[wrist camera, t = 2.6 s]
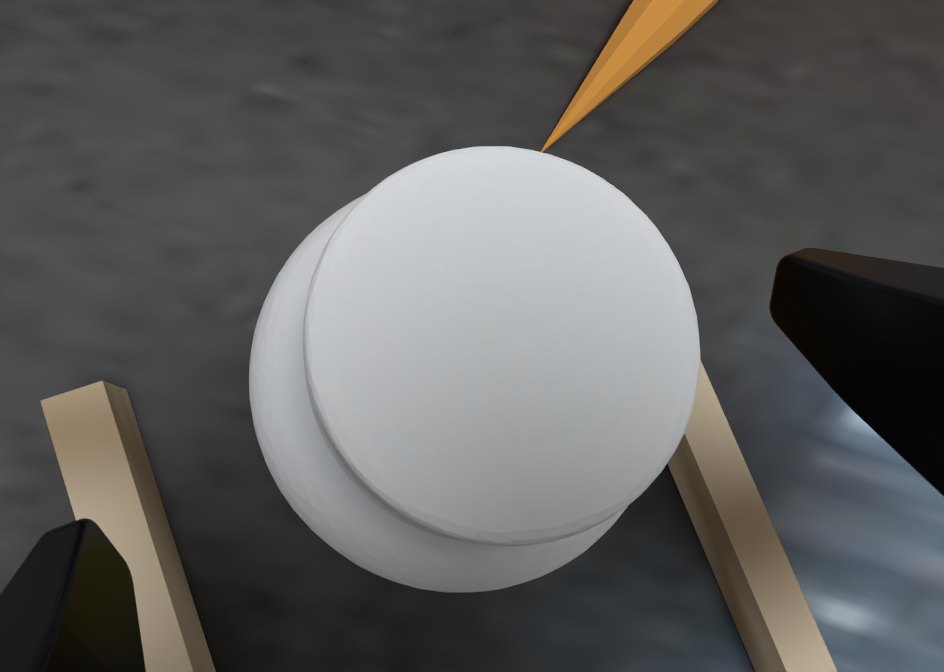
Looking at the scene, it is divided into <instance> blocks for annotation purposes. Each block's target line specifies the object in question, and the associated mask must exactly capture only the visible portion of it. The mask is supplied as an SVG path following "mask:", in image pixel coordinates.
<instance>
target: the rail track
mask: <svg viewBox="0 0 944 672" xmlns="http://www.w3.org/2000/svg"><path fill="white" fill-rule="evenodd" d="M41 405H42V408H43V411H44V415H45V418H46V421H47V425H48V428H49V432H50V435H51V438H52V442H53V445H54V448H55V452H56V455H57V458H58V462H59V465H60V468H61V472H62V475H63V479H64V482H65V485H66V489H67V492H68V495H69V499H70V502H71V505H72V509H73V512H74V515H75V519H76V520H79V519H82V518H87V519H91V520H92V521H94V522H95V523H96V524H97V525H98V526H99V527H100V529H101V530H102V531H103V532H104V534H105V535H106V536H107V538H108V539H109V540H110V542H111V543H112V544H113V545H114V547H115V548H116V549H117V551H118V552H119V553H120V555H121V556H122V557H123V558H124V560H125V561H126V563H127V565H128V567H129V569H130V572H131V575H132V579H133V584H134V591H135V598H136V605H137V612H138V619H139V627H140V634H141V641H142V648H143V655H144V662H145V669H146V672H216V671H215V668H214V665H213V661H212V658H211V655H210V652H209V649H208V646H207V642H206V639H205V636H204V633H203V630H202V627H201V624H200V620H199V617H198V614H197V611H196V608H195V605H194V601H193V598H192V595H191V592H190V589H189V586H188V582H187V579H186V576H185V573H184V570H183V567H182V563H181V560H180V557H179V554H178V551H177V548H176V545H175V541H174V538H173V535H172V532H171V529H170V526H169V522H168V519H167V516H166V513H165V510H164V507H163V503H162V500H161V497H160V494H159V491H158V488H157V485H156V481H155V478H154V475H153V472H152V469H151V466H150V462H149V459H148V456H147V453H146V450H145V447H144V443H143V440H142V437H141V434H140V431H139V428H138V424H137V421H136V418H135V415H134V412H133V409H132V406H131V402H130V399H129V396H128V393H127V390H126V389H124V388H121V387H118V386H116V385H113V384H110V383H108V382H105V381H100V382H97V383H94V384H90V385H87V386H84V387H81V388H78V389H75V390H72V391H69V392H66V393H63V394H60V395H57V396H54V397H50V398H47V399H44V400H41ZM667 464H668V466H669V469H670V471H671V473H672V476H673V478H674V480H675V483H676V485H677V488H678V490H679V492H680V495H681V497H682V499H683V502H684V504H685V506H686V509H687V511H688V514H689V516H690V518H691V521H692V523H693V525H694V528H695V530H696V532H697V535H698V537H699V540H700V542H701V544H702V547H703V549H704V551H705V554H706V556H707V559H708V561H709V563H710V566H711V568H712V570H713V573H714V575H715V577H716V580H717V582H718V585H719V587H720V589H721V592H722V594H723V596H724V599H725V601H726V603H727V606H728V608H729V611H730V613H731V615H732V618H733V620H734V622H735V625H736V627H737V630H738V632H739V634H740V637H741V639H742V641H743V644H744V646H745V648H746V651H747V653H748V656H749V658H750V660H751V663H752V665H753V667H754V670H755V672H837V670H836V668H835V665H834V663H833V661H832V659H831V656H830V654H829V652H828V649H827V647H826V645H825V643H824V640H823V638H822V636H821V633H820V631H819V629H818V627H817V624H816V622H815V620H814V618H813V615H812V613H811V611H810V608H809V606H808V604H807V602H806V599H805V597H804V595H803V592H802V590H801V588H800V586H799V583H798V581H797V579H796V576H795V574H794V572H793V570H792V567H791V565H790V563H789V561H788V558H787V556H786V554H785V551H784V549H783V547H782V545H781V542H780V540H779V538H778V535H777V533H776V531H775V529H774V526H773V524H772V522H771V519H770V517H769V515H768V513H767V510H766V508H765V506H764V504H763V501H762V499H761V497H760V494H759V492H758V490H757V488H756V485H755V483H754V481H753V478H752V476H751V474H750V472H749V469H748V467H747V465H746V462H745V460H744V458H743V456H742V453H741V451H740V449H739V447H738V444H737V442H736V440H735V437H734V435H733V433H732V431H731V428H730V426H729V424H728V421H727V419H726V417H725V415H724V412H723V410H722V408H721V405H720V403H719V401H718V399H717V396H716V394H715V392H714V390H713V387H712V385H711V383H710V380H709V378H708V376H707V374H706V371H705V369H704V367H703V364H702V362H701V360H700V370H699V382H698V387H697V392H696V398H695V402H694V406H693V410H692V413H691V416H690V419H689V422H688V425H687V428H686V431H685V433H684V435H683V437H682V439H681V441H680V443H679V445H678V447H677V449H676V450H675V452H674V454H673V455H672V457H671V458H670V460H669V461H668V463H667Z"/></svg>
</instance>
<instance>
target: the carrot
mask: <svg viewBox="0 0 944 672" xmlns="http://www.w3.org/2000/svg"><path fill="white" fill-rule="evenodd" d="M718 1H719V0H633V2H632V4H631V5H630V7H629V9H628V10H627V12H626V13H625V15H624V17H623V18H622V20H621V22H620V23H619V25H618V26H617V28H616V30H615V31H614V33H613V35H612V36H611V38H610V39H609V41H608V43H607V44H606V46H605V48H604V49H603V51H602V53H601V54H600V56H599V57H598V59H597V61H596V62H595V64H594V66H593V67H592V69H591V70H590V72H589V74H588V75H587V77H586V79H585V80H584V82H583V83H582V85H581V87H580V88H579V90H578V92H577V93H576V95H575V96H574V98H573V100H572V101H571V103H570V105H569V106H568V108H567V110H566V111H565V113H564V114H563V116H562V118H561V119H560V121H559V123H558V124H557V126H556V127H555V129H554V131H553V132H552V134H551V136H550V137H549V139H548V140H547V142H546V144H545V145H544V147H543V149H542V150H541V152H543V151H544V150H545V149H547V148H548V147H549V146H550V145H551V144H553V143H554V142H555V141H556V140H557V139H559V138H560V137H561V136H562V135H563V134H565V133H566V132H567V131H568V130H570V129H571V128H572V127H573V126H574V125H576V124H577V123H578V122H579V121H580V120H582V119H583V118H584V117H585V116H586V115H588V114H589V113H590V112H591V111H592V110H594V109H595V108H596V107H597V106H598V105H600V104H601V103H602V102H603V101H604V100H606V99H607V98H608V97H609V96H611V95H612V94H613V93H614V92H615V91H617V90H618V89H619V88H620V87H621V86H623V85H624V84H625V83H626V82H627V81H629V80H630V79H631V78H632V77H633V76H635V75H636V74H637V73H638V72H639V71H641V70H642V69H643V68H644V67H645V66H647V65H648V64H649V63H650V62H652V61H653V60H654V59H655V58H656V57H658V56H659V55H660V54H661V53H662V52H664V51H665V50H666V49H667V48H668V47H670V46H671V45H672V44H673V43H674V42H675V41H676V40H677V39H678V38H680V37H681V36H682V35H683V34H684V33H685V32H686V31H687V30H688V29H689V28H690V27H691V26H692V25H693V24H695V23H696V22H697V21H698V20H699V19H700V18H701V17H702V16H703V15H704V14H705V13H706V12H707V11H708V10H710V9H711V8H712V7H713V6H714V5H715V4H716V3H717V2H718Z"/></svg>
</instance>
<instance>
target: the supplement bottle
mask: <svg viewBox="0 0 944 672" xmlns="http://www.w3.org/2000/svg"><path fill="white" fill-rule="evenodd" d="M699 370H700V343H699V332H698V323H697V315H696V312H695V308H694V304H693V300H692V296H691V292H690V288H689V286H688V284H687V281H686V279H685V277H684V274H683V272H682V270H681V268H680V265H679V263H678V261H677V259H676V258H675V256H674V254H673V252H672V251H671V249H670V247H669V245H668V244H667V242H666V241H665V239H664V238H663V236H662V235H661V234H660V232H659V231H658V229H657V228H656V226H655V225H654V224H653V223H652V222H651V221H650V219H649V218H648V217H647V216H646V215H645V214H644V213H643V212H642V211H641V210H640V209H639V208H638V207H637V206H636V205H635V204H634V203H633V202H632V201H631V200H630V199H629V198H628V197H627V196H626V195H625V194H623V193H622V192H621V191H619V190H618V189H617V188H615V187H614V186H612V185H611V184H610V183H608V182H607V181H605V180H604V179H602V178H601V177H599V176H597V175H596V174H594V173H592V172H590V171H588V170H587V169H585V168H583V167H581V166H579V165H576V164H574V163H572V162H570V161H567V160H564V159H561V158H558V157H556V156H553V155H550V154H546V153H542V152H537V151H533V150H527V149H521V148H515V147H509V146H491V147H471V148H464V149H458V150H452V151H448V152H444V153H440V154H437V155H434V156H431V157H428V158H425V159H423V160H420V161H418V162H416V163H413V164H411V165H409V166H407V167H405V168H403V169H401V170H399V171H397V172H396V173H394V174H392V175H391V176H389V177H387V178H386V179H385V180H383V181H382V182H381V183H379V184H378V185H377V186H375V187H374V188H373V189H372V190H370V191H369V192H368V193H367V194H365V195H363V196H361V197H359V198H357V199H356V200H354V201H352V202H351V203H349V204H347V205H346V206H344V207H343V208H341V209H340V210H338V211H337V212H335V213H334V214H333V215H332V216H330V217H329V218H328V219H326V220H325V221H324V222H323V223H321V224H320V225H319V226H318V227H316V228H315V229H314V230H313V231H312V232H311V233H310V234H309V235H308V236H307V237H306V238H305V239H304V240H303V242H302V243H301V244H300V245H299V246H298V247H297V248H296V250H295V251H294V252H293V253H292V255H291V256H290V257H289V259H288V260H287V262H286V263H285V265H284V266H283V268H282V269H281V271H280V272H279V274H278V275H277V277H276V279H275V281H274V283H273V285H272V287H271V289H270V291H269V293H268V295H267V297H266V299H265V301H264V304H263V307H262V310H261V313H260V315H259V318H258V321H257V325H256V328H255V332H254V336H253V342H252V349H251V356H250V364H249V396H250V404H251V410H252V417H253V423H254V428H255V432H256V436H257V439H258V442H259V445H260V448H261V450H262V453H263V456H264V459H265V462H266V464H267V466H268V469H269V471H270V473H271V475H272V477H273V478H274V480H275V482H276V484H277V486H278V488H279V490H280V491H281V493H282V494H283V496H284V497H285V498H286V500H287V501H288V503H289V504H290V506H291V507H292V509H293V510H294V511H295V512H296V513H297V514H298V515H299V517H300V518H301V519H302V520H303V521H304V522H305V523H306V524H307V525H308V527H309V528H310V529H311V530H312V531H313V532H314V533H315V534H317V535H318V536H319V537H320V538H321V539H322V540H323V541H325V542H326V543H327V544H328V545H329V546H331V547H332V548H333V549H335V550H336V551H337V552H339V553H340V554H342V555H343V556H344V557H346V558H347V559H349V560H350V561H352V562H353V563H355V564H357V565H358V566H360V567H362V568H364V569H366V570H368V571H370V572H372V573H374V574H376V575H379V576H381V577H383V578H386V579H389V580H391V581H394V582H397V583H400V584H403V585H407V586H411V587H414V588H418V589H425V590H432V591H439V592H482V591H491V590H497V589H503V588H507V587H510V586H514V585H517V584H521V583H524V582H527V581H530V580H533V579H536V578H539V577H541V576H543V575H545V574H548V573H550V572H552V571H554V570H556V569H558V568H560V567H561V566H563V565H565V564H567V563H568V562H570V561H571V560H573V559H574V558H576V557H577V556H579V555H580V554H582V553H583V552H585V551H586V550H587V549H588V548H589V547H590V546H592V545H593V544H594V543H595V542H596V541H597V540H598V539H599V538H600V537H601V536H602V535H603V534H605V533H606V532H607V531H608V530H609V529H610V527H611V526H612V525H613V524H614V523H615V522H616V521H617V519H618V518H619V517H620V516H621V514H622V513H623V512H624V511H625V509H626V508H627V507H628V505H629V504H631V503H632V502H633V501H634V500H635V499H637V498H638V497H639V496H640V495H641V494H642V493H643V492H644V491H645V490H646V489H647V488H648V487H649V485H650V484H651V483H652V482H653V481H654V480H655V479H656V477H657V476H658V475H659V474H660V473H661V472H662V470H663V469H664V467H665V466H666V464H667V463H668V461H669V460H670V458H671V457H672V455H673V454H674V452H675V450H676V449H677V447H678V445H679V443H680V441H681V439H682V437H683V435H684V433H685V431H686V428H687V425H688V422H689V419H690V416H691V413H692V410H693V406H694V402H695V398H696V392H697V387H698V382H699Z"/></svg>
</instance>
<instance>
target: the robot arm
mask: <svg viewBox="0 0 944 672" xmlns="http://www.w3.org/2000/svg"><path fill="white" fill-rule="evenodd" d="M769 308H770V314H771V317H772V319H773V320H774V322H775V323H776V325H777V326H778V327H779V328H780V329H781V330H782V332H783V333H784V334H785V335H786V336H787V337H788V338H789V340H790V341H791V342H792V343H793V344H794V345H795V346H796V348H797V349H798V350H799V351H800V352H801V353H802V355H803V356H804V357H805V358H806V359H807V360H808V361H809V363H810V364H811V365H812V366H813V367H814V368H815V369H816V371H817V372H818V373H819V374H820V375H821V376H822V377H823V379H824V380H825V381H826V382H827V383H828V384H829V385H830V387H831V388H832V389H833V390H834V391H835V392H836V393H837V394H838V395H839V397H840V398H841V399H842V400H843V401H844V402H845V403H846V404H847V405H848V406H849V407H850V408H851V409H852V410H853V411H854V412H855V413H856V414H857V415H858V416H859V417H860V418H861V419H863V420H864V421H865V422H866V423H867V424H868V425H869V426H870V427H871V428H872V429H873V430H874V431H875V432H876V433H877V434H878V435H879V436H880V437H881V438H883V439H884V440H885V441H886V442H887V443H888V444H889V445H890V446H891V447H892V448H893V449H894V450H895V451H896V452H897V453H898V454H899V455H900V456H902V457H903V458H904V459H905V460H906V461H907V462H908V463H909V464H910V465H911V466H912V467H913V468H914V469H915V470H916V471H917V472H918V473H919V474H920V475H922V476H923V477H924V478H925V479H926V480H927V481H928V482H929V483H930V484H931V485H932V486H933V487H934V488H935V489H936V490H937V491H938V492H939V493H940V494H942V495H943V496H944V268H939V267H932V266H926V265H919V264H913V263H906V262H900V261H894V260H887V259H881V258H874V257H868V256H861V255H855V254H848V253H842V252H835V251H829V250H822V249H816V248H806V249H802V250H800V251H797V252H794V253H791V254H789V255H786V256H784V257H783V258H782V259H781V260H780V261H779V263H778V265H777V268H776V273H775V278H774V283H773V289H772V294H771V299H770V306H769ZM0 672H146V669H145V662H144V655H143V648H142V641H141V634H140V627H139V619H138V612H137V605H136V598H135V591H134V584H133V579H132V575H131V572H130V569H129V567H128V565H127V563H126V561H125V560H124V558H123V557H122V556H121V555H120V553H119V552H118V551H117V549H116V548H115V547H114V545H113V544H112V543H111V542H110V540H109V539H108V538H107V536H106V535H105V534H104V532H103V531H102V530H101V529H100V527H99V526H98V525H97V524H96V523H95V522H94V521H92V520H91V519H87V518H82V519H79V520H76V521H73V522H71V523H68V524H65V525H63V526H60V527H57V528H55V529H52V530H50V531H48V532H46V533H45V534H44V535H43V536H42V537H41V538H40V539H39V541H38V542H37V544H36V545H35V546H34V548H33V549H32V551H31V552H30V553H29V555H28V556H27V558H26V559H25V561H24V562H23V563H22V565H21V566H20V568H19V569H18V570H17V572H16V573H15V575H14V576H13V578H12V579H11V580H10V582H9V583H8V585H7V586H6V587H5V589H4V590H3V592H2V593H1V595H0Z"/></svg>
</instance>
